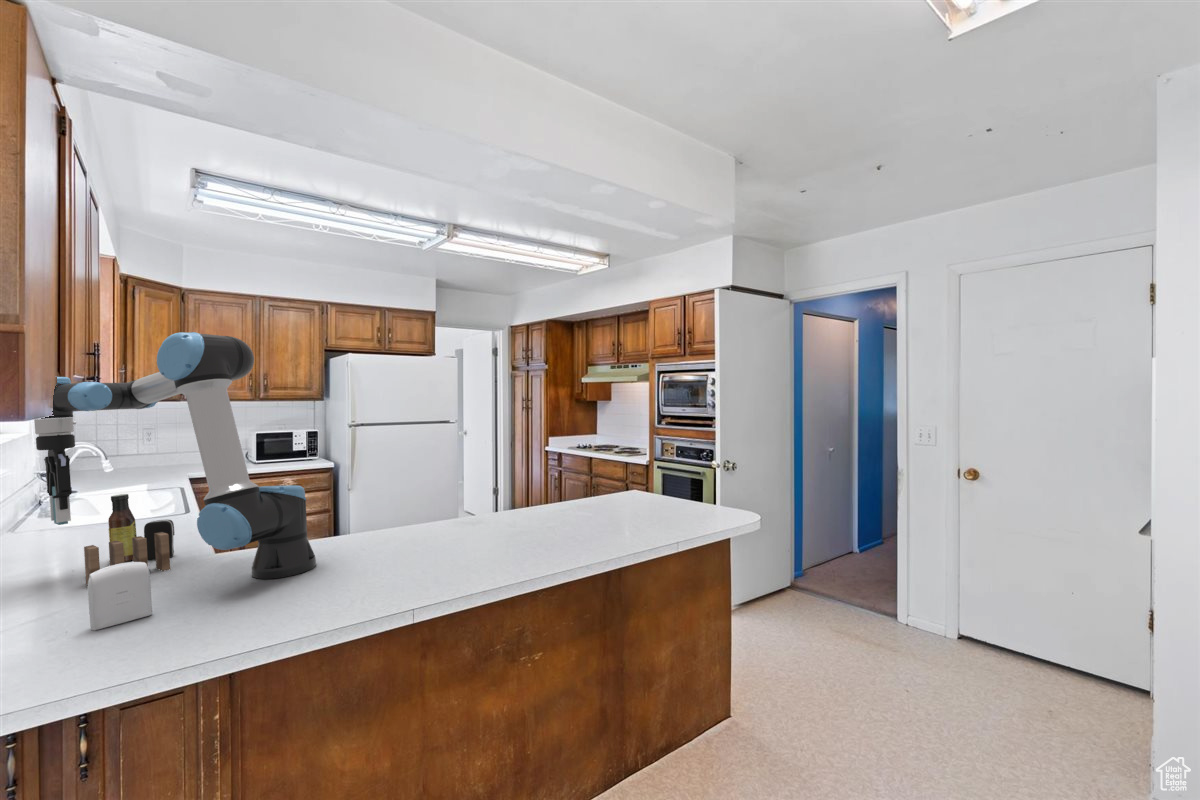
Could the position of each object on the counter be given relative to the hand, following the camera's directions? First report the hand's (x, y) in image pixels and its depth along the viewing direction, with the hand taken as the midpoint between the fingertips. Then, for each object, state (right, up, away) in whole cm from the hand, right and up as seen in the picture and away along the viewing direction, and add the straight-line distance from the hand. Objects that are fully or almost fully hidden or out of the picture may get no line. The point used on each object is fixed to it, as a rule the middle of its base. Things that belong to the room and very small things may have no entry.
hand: (60, 520), depth 152 cm
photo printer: (+43, -15, -31) cm, 55 cm away
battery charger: (+12, -16, +19) cm, 27 cm away
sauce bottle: (+3, -16, +17) cm, 24 cm away
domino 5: (+22, -15, +7) cm, 28 cm away
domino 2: (+14, -16, -5) cm, 22 cm away
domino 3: (+16, -16, -1) cm, 23 cm away
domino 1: (0, -1, 0) cm, 1 cm away
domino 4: (+19, -15, +3) cm, 25 cm away
